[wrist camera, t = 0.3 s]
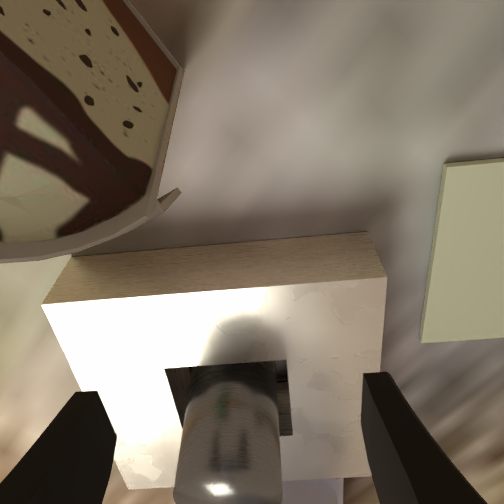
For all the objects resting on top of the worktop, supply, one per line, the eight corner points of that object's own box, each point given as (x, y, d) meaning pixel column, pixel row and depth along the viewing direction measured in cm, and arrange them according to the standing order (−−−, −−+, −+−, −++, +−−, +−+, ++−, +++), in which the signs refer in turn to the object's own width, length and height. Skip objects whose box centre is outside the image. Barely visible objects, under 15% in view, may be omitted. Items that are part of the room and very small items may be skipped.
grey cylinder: (277, 375, 25) (286, 521, 19) (202, 380, 26) (184, 527, 19) (271, 318, 23) (279, 462, 16) (188, 324, 23) (162, 469, 17)
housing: (358, 422, 28) (371, 476, 25) (141, 435, 29) (128, 489, 26) (368, 231, 20) (387, 277, 17) (70, 257, 21) (41, 304, 18)
